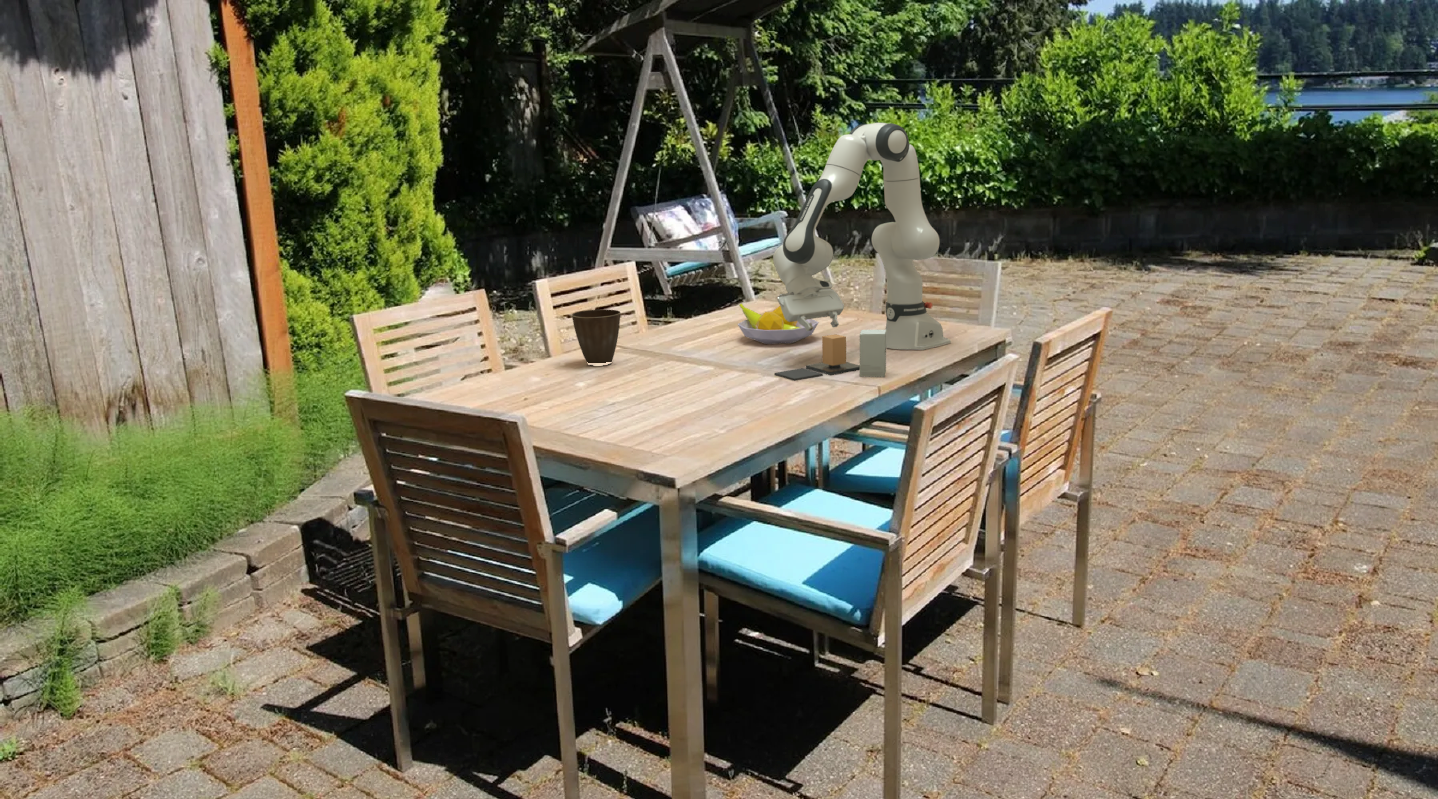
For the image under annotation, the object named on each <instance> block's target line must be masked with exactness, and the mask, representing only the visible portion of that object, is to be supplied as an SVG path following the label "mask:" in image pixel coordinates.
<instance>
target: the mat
mask: <svg viewBox="0 0 1438 799" xmlns="http://www.w3.org/2000/svg"><path fill="white" fill-rule="evenodd" d="M774 376H777V377H781V378H784V379H786V380H787V379H788V380H791V381H794V382H796V381H800V380H802V381H803V380H807V379H813V378H818V377H823V376H824V373H820V372H816V371H813V370H809V369H806V368H803V367H800V368H795V369H788V370H782V371H777V372H774Z"/></svg>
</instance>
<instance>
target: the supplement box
mask: <svg viewBox="0 0 1438 799" xmlns="http://www.w3.org/2000/svg"><path fill="white" fill-rule="evenodd" d="M859 365H860V370H859V377H860V378H885V376H886V372H887V348H886V330H885V329H861V330H860V333H859Z"/></svg>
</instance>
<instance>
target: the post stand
mask: <svg viewBox="0 0 1438 799" xmlns="http://www.w3.org/2000/svg"><path fill="white" fill-rule="evenodd" d="M805 369H808V370H811V371H815V372H818V373H822V374H823V375H827V374H828V376H834V374H835V375H839V374H840V375H841V374H846V373H852V372H856V370H858V371H860V364H856V363H852V362H847V361H846V363H845V364H839V365H834V366H832V365H828V364H825V363H822V362H817V363H816V362H815V363H811V364H806V365H805Z"/></svg>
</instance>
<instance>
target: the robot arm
mask: <svg viewBox="0 0 1438 799" xmlns="http://www.w3.org/2000/svg"><path fill="white" fill-rule="evenodd" d="M908 136H909V135H908V133H907V132H906V130H905V129H904V128H903V127H902V126H901V125H898V124H896V123H886V122H874V123H873V122H872V123H862V124H859V125H857V126H854V128H852V130H850V132H849V133H848V134H843V135H841V136H840V137H838V139H837V140H836V142H835V144H834V146H832V150H831V151H830V154H829V156H828V158H827V161H826V163H825V167H824V169H823V171H822V174H821V175H820V177H819V179H818V180H817V181H816V182H815V183H814V184H813V186H812V187H811V189H810V191H809V193H808V194H807V196H806V199H805V201H804V204H802V205H803V206H802V207H801V210H800V212H799V214H798V216H797V218H796V220H795V222H794V223H793V226H792V227H791V229H790V230H789V231H788V232H787V234H786V235H785V237H784V239H783V243H782V244H781V245H780V246H778V247H777V249H776V250H775V251H774V253H773V256H772V262H773V266H774V268H775V271H776V273H777V275H778V277H779V279H780V280H781V282H783V284H784V286H785V291H786V293H780V294H779V295H778V296H777V299H776V300H777V302H778V304H779V306H781V310H782V313H783V315H784V317H785V319H786V320H787V321H789V322H792V321H798V322H799V323H800V324H801V325H802V326H804V327H805V329H806V330H807V331H811V330H812V329H813V326H812V324H811V323H808V322H807V321H806V320H807V319H813V320H815V319H821V318H827V317H828V318H830V319H831V322H830V325H831V327H832V328H837V327H838V326H839V325H840V324H839V321H838V316H839V315H841V314H842V312H843V311H844V309H845V304H844V302H843V301H842V299H841V297H840V295H839V294H838V293H837V291H836V290H835V289H833V285H832V283H831V282H830V281H827V280H822V279H819V278H815V277H813V276H814V275H816V274H818V273H821V272H822V271H824V270H825V269H827V268H828V267H830V265H831V263H832V261H833V258H834V249H833V246H832V244H830V242H828V241H827V240H824V239H823V238H821V237H820V236H817V235H816V233H815V232H816V229H817V226H818V224H819V222H820V219H821V217H822V216H823V213H824V211H825V209H826V208H827V207H828V205H829V204H831V203H834V202H839V201H843V200H844V201H845V200H846V199H849V198H850V197H852V196H853V194H854V193H855V191H856V189H857V188H858V185H859V182H860V180H861V177H862V174H863V171H864V166H865V164H866V163H867V162H868V161H880V162H881V165H882V168H883V174H882V175H883V189H884V190H883V191H884V192H883V193H884V204H885V207H886V208H887V210H888V211H889V212H890V213H891V214H892V216H893V218H894V221H891V222H885V223H881V224H878V225H877V226H876V227H875V228H874V230H873V232H872V235H871V244H872V246H873V250H875V251H876V252H877V255H879V257H880V259H881V262H882V265H883V268H884V272H885V277H886V292H887V293H886V295H887V296H886V302H885V316H886V320H885V321H886V323H885V329H884V330H886V349H892V350H917V351H918V350H919V351H922V350H923V351H924V350H929V349H932V348H937V347H940V346H944V345H948V344H951V339H949V338H947V337H945V336H944V330H943V329H944V328H943V326H942V323H941V322H939V321H938V320H937V319H936V318H934V317H933V316H931V315H930V314H929V313H928V311H927V309H930V310H931V309H932V308H933V306H934V305H933V303H932V302H928V301H926V302H925V301H923V277H922V275H921V273H920V272H919V271H918V270H917V268H916V265H915V264H914V261H920V260H927V259H928V260H929V259H930V258H933V257H934V256H935V255H936V254H937V253H938V250H939V247H940V235H939V234H938V232H937V231H936V229H934V227H932V224H930V222H929V220H928V217H927V215H926V213H925V209H924V207H923V202H922V193H921V178H920V177H921V176H920V169H919V168H920V167H919V161H918V157H917V155H918V154H917V152H916V148H915V147H914V146H913V145H912V144H911V143H910V141H909V140H910V139H909V137H908Z"/></svg>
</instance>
